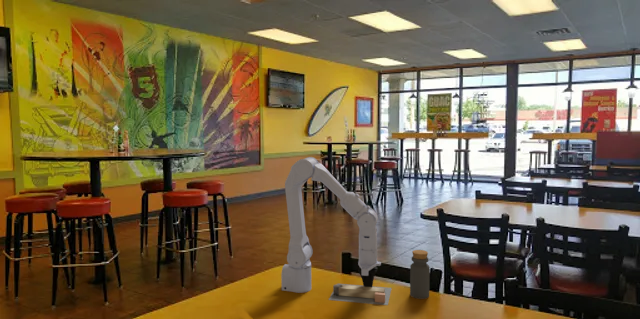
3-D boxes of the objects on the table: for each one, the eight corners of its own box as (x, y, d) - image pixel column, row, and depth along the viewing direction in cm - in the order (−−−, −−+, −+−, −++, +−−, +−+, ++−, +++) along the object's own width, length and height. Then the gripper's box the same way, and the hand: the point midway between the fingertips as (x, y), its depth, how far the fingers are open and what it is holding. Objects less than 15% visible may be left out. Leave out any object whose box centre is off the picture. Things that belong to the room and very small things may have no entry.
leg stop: (374, 301, 131) (374, 294, 131) (375, 299, 133) (375, 292, 133) (384, 302, 131) (384, 295, 130) (385, 300, 132) (385, 293, 132)
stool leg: (332, 294, 136) (332, 287, 136) (334, 291, 139) (334, 284, 139) (383, 299, 133) (383, 291, 132) (384, 295, 136) (384, 288, 135)
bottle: (429, 303, 133) (430, 255, 132) (410, 301, 134) (410, 254, 133) (428, 295, 139) (429, 249, 138) (410, 294, 140) (410, 248, 139)
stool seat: (328, 303, 133) (328, 299, 133) (337, 286, 147) (337, 283, 147) (387, 309, 129) (387, 305, 129) (391, 291, 143) (391, 287, 142)
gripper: (378, 255, 129) (378, 300, 130) (383, 242, 143) (383, 283, 144) (354, 254, 130) (354, 298, 131) (361, 241, 144) (361, 281, 145)
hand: (368, 290), depth 138 cm, fingers closed
